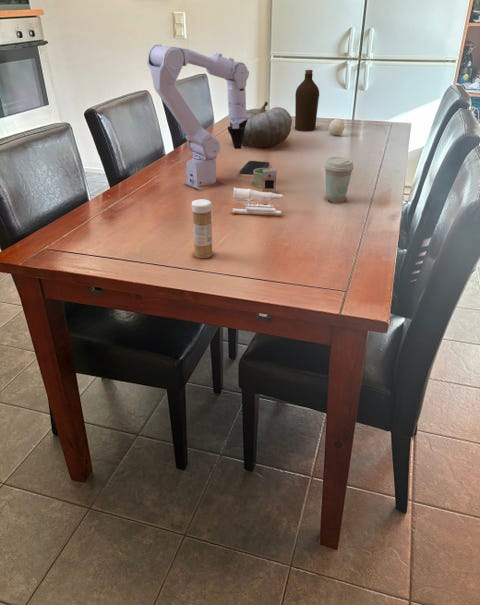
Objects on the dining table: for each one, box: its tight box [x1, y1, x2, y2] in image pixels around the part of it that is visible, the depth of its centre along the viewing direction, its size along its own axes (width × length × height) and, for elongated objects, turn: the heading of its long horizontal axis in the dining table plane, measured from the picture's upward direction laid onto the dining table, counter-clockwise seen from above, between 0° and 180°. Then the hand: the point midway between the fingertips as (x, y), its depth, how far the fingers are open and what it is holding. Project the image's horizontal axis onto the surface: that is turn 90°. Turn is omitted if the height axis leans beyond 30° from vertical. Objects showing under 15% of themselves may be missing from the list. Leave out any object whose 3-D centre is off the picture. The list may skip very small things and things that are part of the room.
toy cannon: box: [231, 186, 284, 217], centre depth 146 cm, size 8×14×5 cm
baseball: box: [328, 118, 345, 136], centre depth 224 cm, size 7×7×7 cm
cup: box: [252, 167, 269, 186], centre depth 167 cm, size 6×6×4 cm
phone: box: [239, 160, 270, 176], centre depth 181 cm, size 8×1×15 cm
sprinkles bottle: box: [191, 198, 214, 259], centre depth 120 cm, size 5×5×13 cm
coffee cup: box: [323, 156, 355, 204], centre depth 153 cm, size 8×9×12 cm
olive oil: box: [294, 69, 320, 132], centre depth 229 cm, size 11×11×25 cm
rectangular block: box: [261, 168, 278, 194], centre depth 158 cm, size 2×4×8 cm, turn 86°
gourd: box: [229, 101, 293, 149], centre depth 207 cm, size 25×25×17 cm
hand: (238, 145), depth 170 cm, fingers open, 7 cm apart
